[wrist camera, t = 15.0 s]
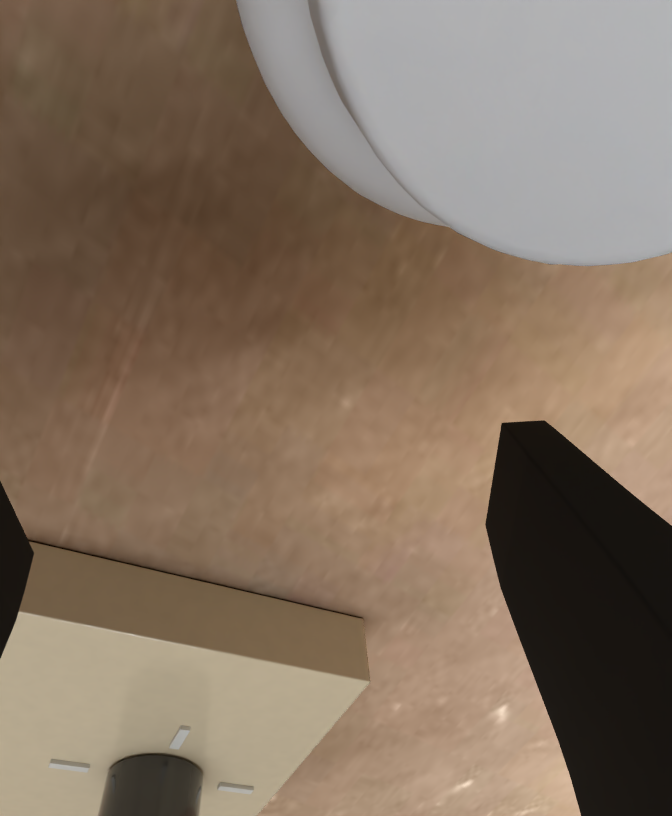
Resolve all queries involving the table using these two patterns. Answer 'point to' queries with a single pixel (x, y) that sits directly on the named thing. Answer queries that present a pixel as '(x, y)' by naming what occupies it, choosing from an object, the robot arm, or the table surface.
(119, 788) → the knob
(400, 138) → the supplement bottle
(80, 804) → the beige flat block
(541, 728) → the table surface
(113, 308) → the table surface
